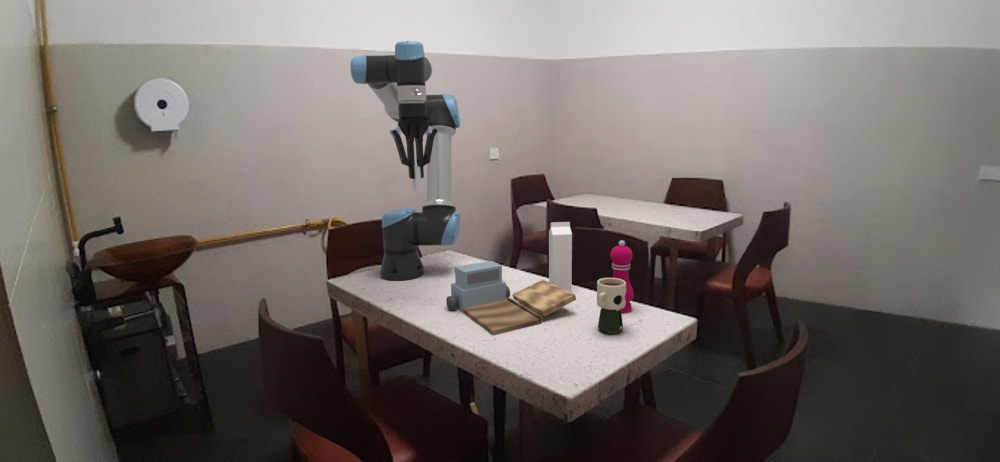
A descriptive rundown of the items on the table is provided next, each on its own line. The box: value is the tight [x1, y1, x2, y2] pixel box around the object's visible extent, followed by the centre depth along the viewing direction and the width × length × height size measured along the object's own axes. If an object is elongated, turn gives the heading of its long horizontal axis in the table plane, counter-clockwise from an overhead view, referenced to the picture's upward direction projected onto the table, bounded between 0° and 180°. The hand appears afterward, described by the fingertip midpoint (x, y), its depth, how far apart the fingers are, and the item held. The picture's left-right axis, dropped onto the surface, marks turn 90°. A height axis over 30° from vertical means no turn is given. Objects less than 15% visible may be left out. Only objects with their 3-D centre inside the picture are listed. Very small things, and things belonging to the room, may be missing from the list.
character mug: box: [596, 277, 626, 334], centre depth 129 cm, size 11×7×13 cm, turn 138°
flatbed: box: [462, 297, 543, 336], centre depth 140 cm, size 18×15×2 cm
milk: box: [548, 221, 573, 293], centre depth 159 cm, size 6×6×22 cm
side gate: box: [512, 279, 577, 317], centre depth 146 cm, size 16×2×11 cm
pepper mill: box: [609, 239, 634, 314], centre depth 143 cm, size 7×7×20 cm
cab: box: [445, 260, 511, 313], centre depth 150 cm, size 8×19×12 cm, turn 119°
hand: (417, 190), depth 142 cm, fingers closed
